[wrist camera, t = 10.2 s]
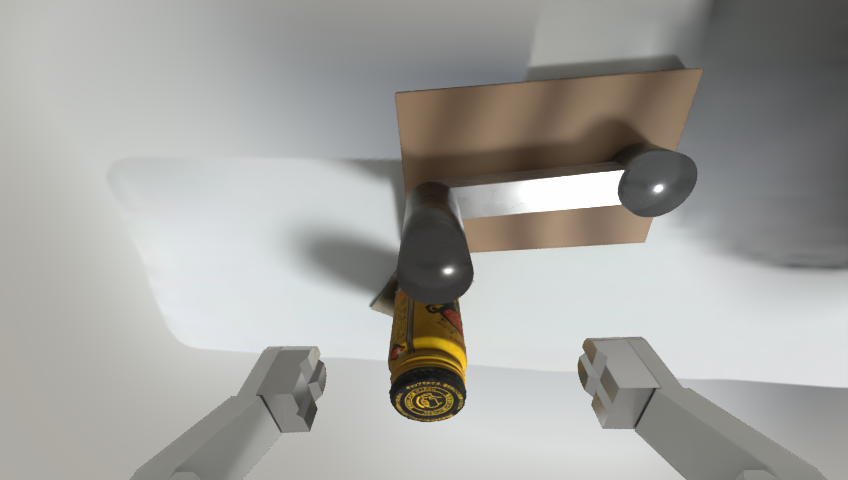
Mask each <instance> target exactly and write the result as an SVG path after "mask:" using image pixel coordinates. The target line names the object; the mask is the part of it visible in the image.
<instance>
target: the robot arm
mask: <svg viewBox="0 0 848 480" xmlns="http://www.w3.org/2000/svg"><path fill="white" fill-rule="evenodd" d="M583 349H584V351H585V353H584V354H583V355H582V356H580V357H579V361H578V374H579V377H580V380H581V383H582V386H583V388H584V390H585V391H586V392H588V393H589V394H590V395H591V396H592V397H593V400H592V404H591V405H592V407H593V409H594V411H595V414H596V416H597V418H598V420H599V422H600V424H601V426H602V428H603V429H605V428H606V429H635V432H636V433H638V434H639V435H640V436H641V437H642V438H643V439H644V440H645V441H646V442H647V443H648V444H649V445H650V446H651V447H652V448H653V449H654V450H656V451H657V452H658V453H659V454H660V455H661V456H662V457H663V458H664V459H665V460H666V461H667V462H668V463H669V464H670V465H671V466H672V467H673V468H675V470H677V471H678V472H679V473H680V474H681V475H682V476H683V477H684V478H685V479H686V480H827V479H826V478H825V477H824V476H823V475H822V473H821V472H820V471H818V469H817V468H815V467H814V466H812V465H810V464H809V463H807V462H806V461H804V460H803V459H801V458H799V457H798V456H796V455H795V454H793V453H791V452H790V451H788V450H787V449H785V448H784V447H782V446H780V445H779V444H777V443H775V442H774V441H772V440H771V439H769V438H767V437H766V436H765V435H763V434H761V433H760V432H758V431H757V430H755V429H753V428H752V427H750V426H749V425H747V424H745V423H744V422H742V421H741V420H739V419H738V418H736V417H734V416H733V415H731V414H730V413H728V412H726V411H725V410H723V409H722V408H720V407H718V406H717V405H715V404H713V403H712V402H711V401H709V400H707V399H706V398H704V397H703V396H701V395H699V394H698V393H696V392H695V391H693V390H692V389H690V388H683V387H682V386H681V384H680V383H679V382H678V380H677V379H676V378H675V377H674V375H673V374H672V373H671V371H670V370H669V369H668V368H667V366H666V365H665V364H664V362H663V361H662V360H661V359H660V357H659V356H658V355H657V354H656V352H655V351H654V350H653V348H652V347H651V346H650V345H649V343H648V342H647V341H646V340H645V339H644V338H642V337H622V338H621V337H611V338H587V339H586V340H585V341H584V343H583ZM319 357H320V351H319V349H318V347H315V346H282V347H267V348H266V349H265V350H264V351H263V352H262V354H261V356H260V357H259V359H258V361H257V363H256V364H255V366H254V367H253V369H252V371H251V373H250V374H249V376H248V378H247V379H246V381H245V383H244V384H243V386H242V388H241V389H240V391H239V393H238V395H237V396H231V397H230V398H229V399H227V400H226V401H225V402H224V403H222V404H221V405H220V406H218V407H217V408H216V409H215V410H214V411H212V412H211V413H210V414H208V415H207V416H206V417H204V418H203V419H202V420H200V421H199V422H198V423H197V424H195V425H194V426H193V427H191V428H190V429H189V430H188V431H186V432H185V433H184V434H182V435H181V436H180V437H179V438H177V439H176V440H175V441H174V442H172V443H171V444H170V445H169V446H167V447H166V448H165V449H163V450H162V451H161V452H159V453H158V454H157V455H156V456H154V457H153V458H152V459H150V460H149V461H148V462H147V463H145V464H144V465H143V466H141V467H140V468H139V469H138V470H137V471H136V472H135V473H134V475H133V476H132V477H131V479H130V480H243V478H244V477H245V476H246V475H247V474H248V473H249V472H250V470H251V469H252V468H253V467H254V466H255V465H256V463H257V462H258V461H259V460H260V459H261V458H262V456H263V455H264V454H265V453H266V452H267V451H268V450H269V449H270V447H271V446H272V445H273V444H274V443H275V442H276V441H277V439H278V438H279V437H280V436H281V433H289V432H309V431H310V430H311V427H312V424H313V421H314V418H315V415H316V412H317V406H316V403H315V401H316V400H317V399H318V398H319V397H320V396H321V395H322V394H323V391H324V388H325V383H326V368H325V365H324V363H323V362H321V361H320V360H319Z"/></svg>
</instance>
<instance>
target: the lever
mask: <svg viewBox="0 0 848 480" xmlns="http://www.w3.org/2000/svg"><path fill="white" fill-rule="evenodd" d="M696 180H697V168H696V165H695V163H694V162H693V160H692V159H691V158H689V157H688V156H686V155H683V154H680V153H678V152H675V151H672V150H669V149H666V148H663V147H660V146H657V145H655V144H651V143H645V142H643V143H635V144H632V145H630V146H627V147H625V148H623V149H622V150H620V151H619V152H618V153H617V154H615V155H614V156H613V157H612V159H611V160H610V161H609V162H604V163H594V164H584V165H575V166H565V167H555V168H546V169H536V170H526V171H517V172H507V173H497V174H488V175H478V176H468V177H458V178H449V179H439V180H430V182H425V183H422V184H420V185H418V186H417V187H415V188H414V189H413V190H412V191H411V193H410V194H409V196H408V198H407V202H406V209H405V216H404V223H403V230H402V237H401V244H400V252H399V259H398V266H397V281H398V284H399V286H400V288H401V289H402V291H403V292H404V293H405V294H406V295H407V296H409V297H410V298H411V299H413V300H415V301H417V302H420V303H424V304H429V305H439V304H445V303H449V302H452V301H454V300H456V299H458V298H459V297H461V296H462V295H463V294H464V293H465V292H466V291H467V290H468V289H469V287H470V285H471V283H472V281H473V274H474V272H473V266H472V261H471V257H470V253H469V249H468V244H467V240H466V236H465V231H464V227H463V223H462V219H467V218H478V217H488V216H499V215H509V214H520V213H530V212H541V211H552V210H562V209H573V208H583V207H594V206H604V205H615V204H621V205H622V206H623V207H625V208H626V209H628V210H629V211H630V212H632V213H633V214H635V215H637V216H640V217H656V216H660V215H663V214H666V213H668V212H670V211H672V210H673V209H675V208H676V207H678V206H679V205H680V204H681V203H682V202H684V201H685V200H686V198H687V197H688V196H689V195H690V193H691V192H692V190H693V188H694V186H695V184H696Z"/></svg>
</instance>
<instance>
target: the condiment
mask: <svg viewBox="0 0 848 480" xmlns="http://www.w3.org/2000/svg"><path fill="white" fill-rule="evenodd" d="M473 282H474V281H472V283H473ZM472 283H471V284H472ZM395 292H396V293H395ZM459 298H460V297H459ZM459 298H458V299H459ZM458 299H456V300H454V301H452V302H449V303H445V304H439V305H429V304H424V303H420V302H417V301H415V300H413V299H411V298H410V297H409V296H407V295H406V294H405V293H404V292H403V291H402V289H401V288H400V286H399V284H398V281H397V270H396V271H395V273H394V275H393V276H392V277H391V279H390V281H389V282H388V284H387V285H386V287H385V288H384V290H383V291H382V293H381V294H380V295H379V297H378V299H377V300H376V302H375V303H374V305H373V306H372V308H371V309H372V310H375V311H378V312H381V313H384V314H387V315H389V316H391V317H393V324H392V332H391V341H390V349H389V357H388V364H389V365H388V366H389V370H390V372H391V378H390V380H391V389H390V391H389V394H390V399H391V403H392V405H393V406H394V408H395V409H396V410H397V411H398V412H399V413H400V414H401V415H403V416H404V417H407V418H408V419H412V420H417V421H420V422H433V421H441V420H445V419H448V418H450V417H452V416H454V415H456V414H457V413H458V412H459V411H460V410H461V409H462V408H463V406H464V403H465V399H466V389H465V374H464V372H465V370H466V366H467V358H466V347H465V343H464V336H463V329H462V321H461V314H460V307H459V301H458Z"/></svg>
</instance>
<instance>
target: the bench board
mask: <svg viewBox="0 0 848 480" xmlns="http://www.w3.org/2000/svg"><path fill="white" fill-rule="evenodd" d="M703 70H704V69H675V70H662V71H650V72H638V73H626V74H613V75H601V76H589V77H577V78H564V79H552V80H540V81H527V82H515V83H503V84H491V85H478V86H467V87H454V88H442V89H429V90H417V91H405V92H397V93H395V99H396V107H397V117H398V126H399V135H400V144H401V153H402V163H403V172H404V181H405V190H406V199H407V198H408V196H409V194H410V193H411V191H412V190H413V189H414V188H415V187H417V186H418V185H420V184H422V183H425V182H430V180H439V179H449V178H458V177H468V176H478V175H488V174H497V173H507V172H517V171H526V170H536V169H546V168H555V167H565V166H575V165H584V164H594V163H604V162H609V161H610V160H611V159H612V157H613V156H614V155H615V154H617V153H618V152H619V151H620V150H622V149H623V148H625V147H627V146H630V145H632V144H635V143H643V142H645V143H651V144H655V145H657V146H660V147H663V148H666V149H669V150H672V151H675V152H676V149H677V146H678V143H679V140H680V137H681V134H682V132H683V129H684V126H685V123H686V120H687V117H688V114H689V111H690V108H691V105H692V102H693V99H694V96H695V93H696V91H697V88H698V85H699V82H700V79H701V76H702V73H703ZM652 219H653V217H640V216H637V215H635V214H633V213H632V212H630V211H629V210H628V209H626V208H625V207H623V206H622V205H621V204H615V205H604V206H594V207H583V208H573V209H562V210H552V211H541V212H530V213H520V214H509V215H499V216H488V217H478V218H467V219H462V223H463V227H464V231H465V236H466V240H467V244H468V249H469V253H473V252H490V251H507V250H524V249H541V248H558V247H575V246H592V245H609V244H626V243H643V242H645V240H646V237H647V234H648V231H649V228H650V225H651V222H652Z"/></svg>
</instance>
